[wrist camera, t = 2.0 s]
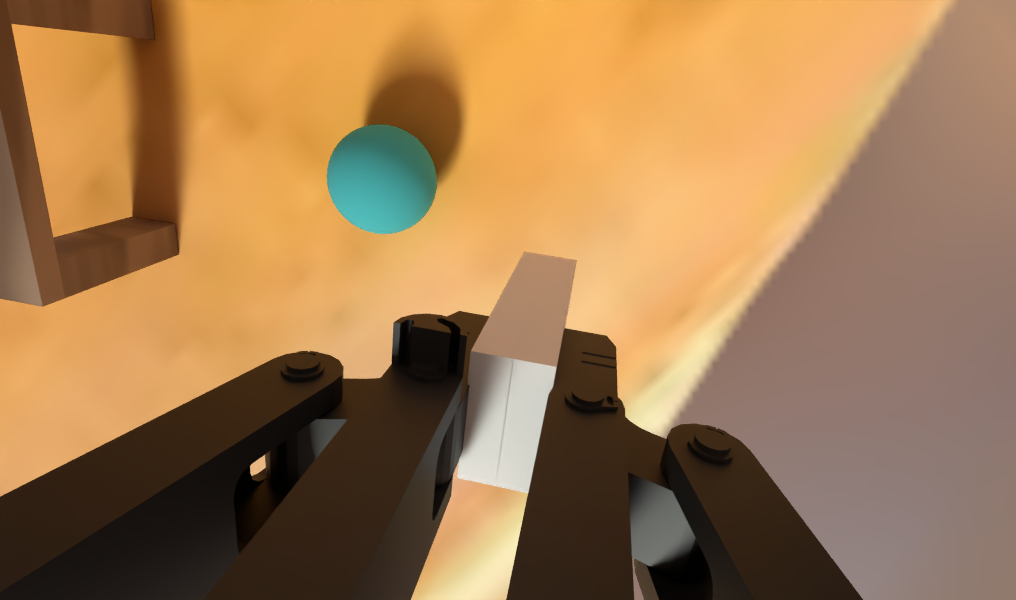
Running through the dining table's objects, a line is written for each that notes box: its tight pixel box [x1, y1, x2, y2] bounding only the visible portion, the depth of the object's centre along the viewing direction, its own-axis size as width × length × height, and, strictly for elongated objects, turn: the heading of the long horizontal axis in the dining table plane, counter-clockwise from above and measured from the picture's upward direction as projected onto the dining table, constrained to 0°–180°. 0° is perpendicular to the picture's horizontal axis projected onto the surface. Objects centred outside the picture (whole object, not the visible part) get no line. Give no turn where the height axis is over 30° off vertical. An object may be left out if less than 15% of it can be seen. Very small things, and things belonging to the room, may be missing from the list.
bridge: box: [0, 0, 179, 307], centre depth 28 cm, size 3×14×9 cm, turn 173°
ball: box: [327, 124, 437, 234], centre depth 28 cm, size 6×6×6 cm
